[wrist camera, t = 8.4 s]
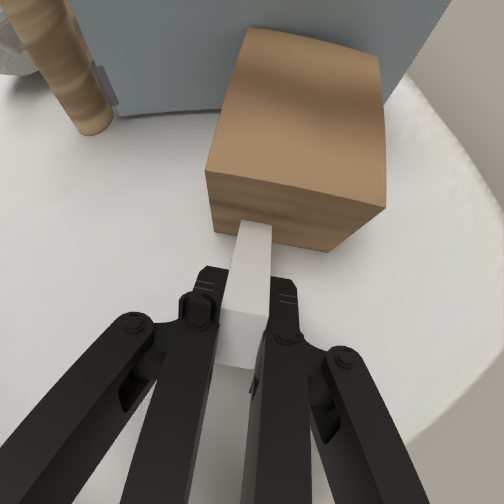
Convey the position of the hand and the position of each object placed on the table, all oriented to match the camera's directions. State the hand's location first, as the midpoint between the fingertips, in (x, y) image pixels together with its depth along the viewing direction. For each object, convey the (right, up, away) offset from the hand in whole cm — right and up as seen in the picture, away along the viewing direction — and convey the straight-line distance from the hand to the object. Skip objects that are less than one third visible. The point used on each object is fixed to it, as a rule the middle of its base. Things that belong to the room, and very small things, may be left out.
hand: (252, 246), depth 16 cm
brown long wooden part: (-12, +12, +5) cm, 17 cm away
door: (0, +11, +5) cm, 13 cm away
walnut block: (+2, +5, +4) cm, 7 cm away
